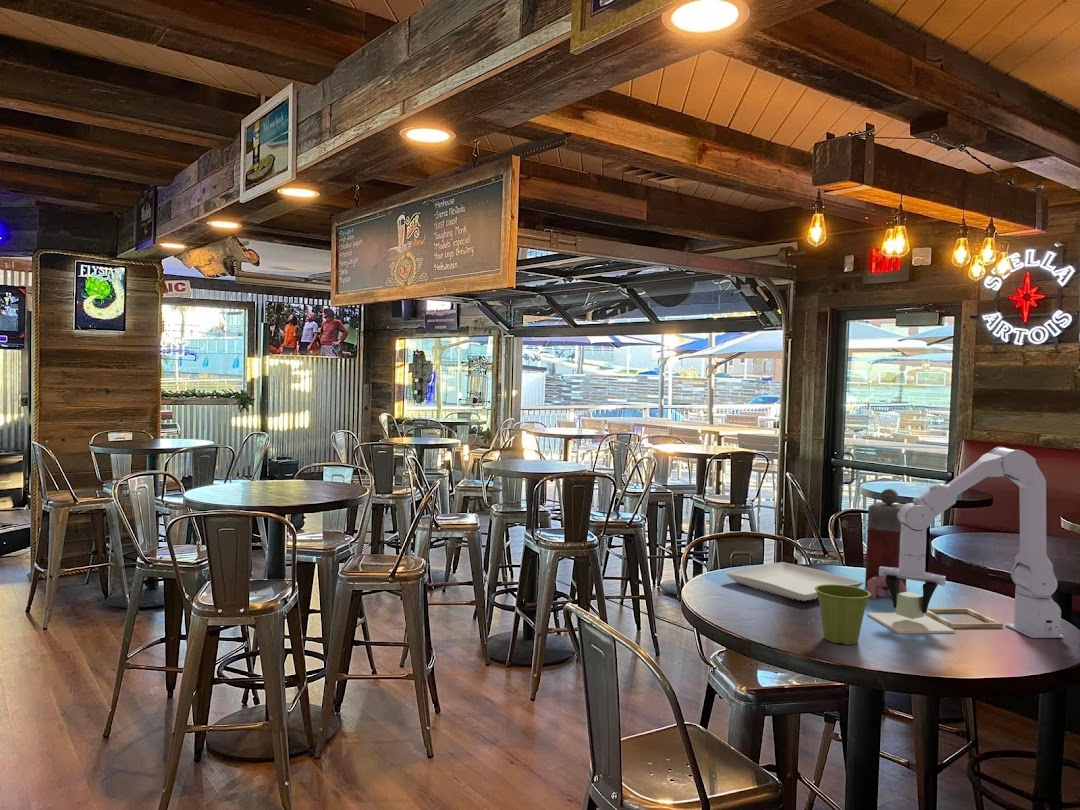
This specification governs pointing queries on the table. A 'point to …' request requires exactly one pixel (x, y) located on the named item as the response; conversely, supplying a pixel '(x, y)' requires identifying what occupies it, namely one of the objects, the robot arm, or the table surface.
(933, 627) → the beige mat
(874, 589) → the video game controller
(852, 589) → the plant pot
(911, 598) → the sage block
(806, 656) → the table surface
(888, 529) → the brown canister
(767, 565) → the square plate
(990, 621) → the maple pocket frame
